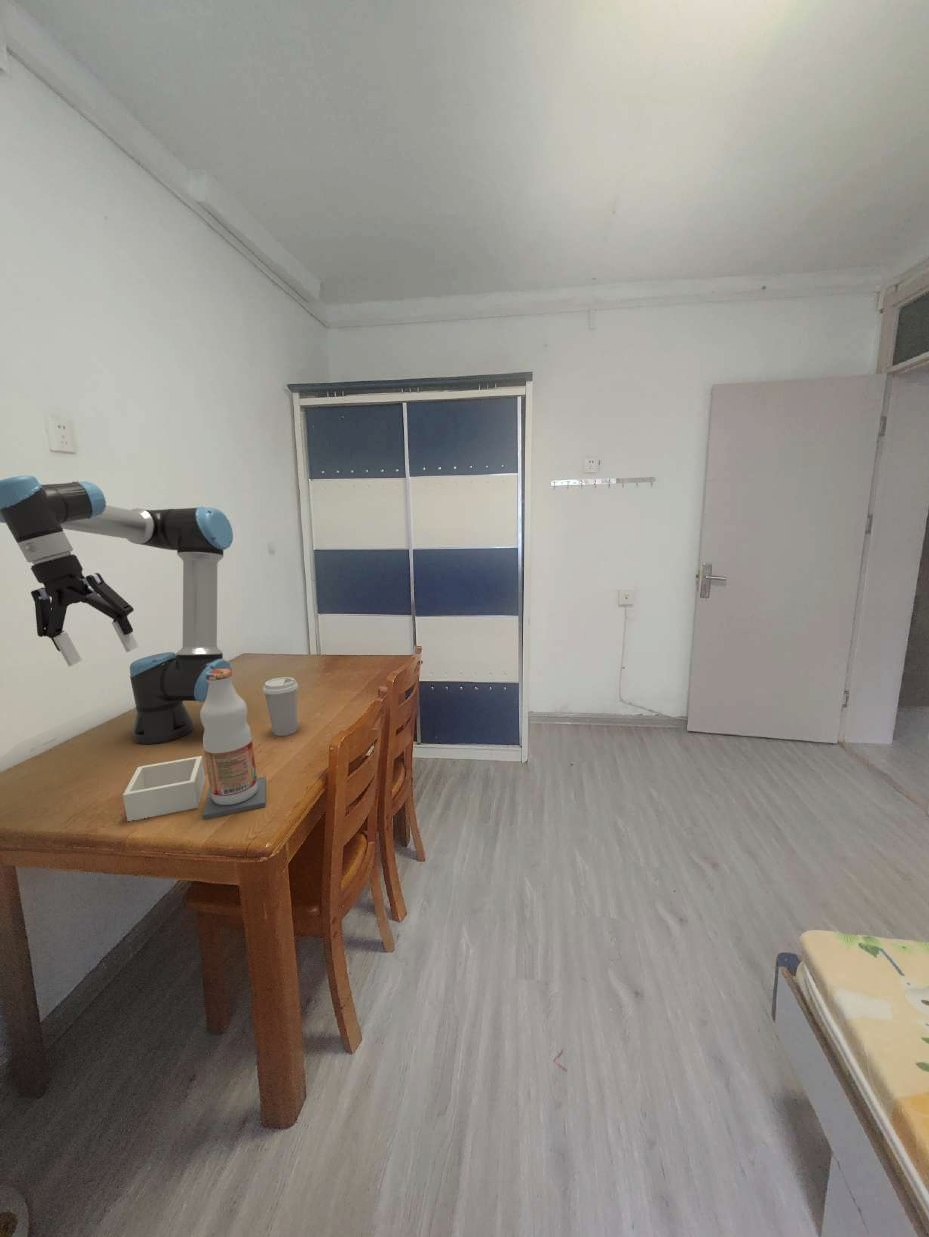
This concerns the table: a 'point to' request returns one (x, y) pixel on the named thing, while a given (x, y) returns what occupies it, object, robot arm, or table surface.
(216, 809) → the mat
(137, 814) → the frame
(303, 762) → the table surface
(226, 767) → the fruit juice
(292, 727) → the coffee cup
